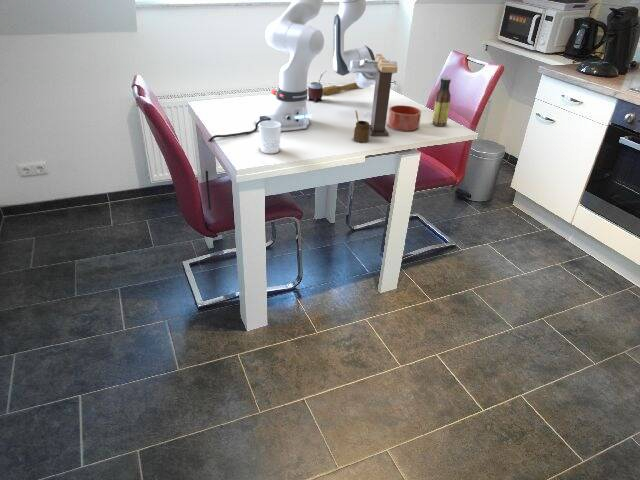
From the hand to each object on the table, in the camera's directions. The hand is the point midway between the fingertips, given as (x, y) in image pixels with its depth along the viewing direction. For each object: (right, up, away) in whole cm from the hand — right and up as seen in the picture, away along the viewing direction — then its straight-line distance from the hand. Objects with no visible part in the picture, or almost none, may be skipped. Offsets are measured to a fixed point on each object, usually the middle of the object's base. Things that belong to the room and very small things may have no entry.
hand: (377, 61), depth 201 cm
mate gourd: (-26, -7, +34) cm, 43 cm away
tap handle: (-13, +3, +49) cm, 51 cm away
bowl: (+12, -25, +9) cm, 29 cm away
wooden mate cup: (-7, -34, -8) cm, 36 cm away
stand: (0, -29, +1) cm, 29 cm away
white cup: (-42, -41, -21) cm, 63 cm away
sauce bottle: (+29, -23, +13) cm, 39 cm away
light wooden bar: (+1, -5, -10) cm, 12 cm away
